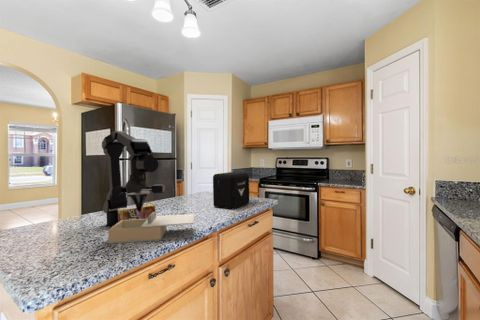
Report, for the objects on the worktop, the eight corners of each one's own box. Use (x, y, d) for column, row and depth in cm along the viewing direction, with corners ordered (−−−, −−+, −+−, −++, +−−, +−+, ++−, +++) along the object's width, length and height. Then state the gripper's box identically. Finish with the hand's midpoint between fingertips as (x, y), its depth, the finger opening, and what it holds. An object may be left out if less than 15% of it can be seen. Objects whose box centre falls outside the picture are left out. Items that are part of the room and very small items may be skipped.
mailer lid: (141, 227, 85) (141, 219, 85) (150, 217, 98) (149, 210, 98) (193, 224, 88) (192, 216, 88) (194, 215, 101) (194, 208, 101)
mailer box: (108, 243, 84) (108, 229, 84) (121, 232, 97) (121, 220, 96) (160, 240, 86) (160, 226, 86) (166, 229, 99) (166, 217, 99)
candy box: (156, 224, 106) (118, 231, 98) (154, 222, 110) (118, 228, 102) (155, 205, 106) (118, 210, 98) (153, 203, 110) (117, 208, 102)
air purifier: (233, 210, 132) (232, 175, 131) (213, 207, 139) (212, 174, 139) (251, 203, 148) (250, 172, 148) (232, 201, 156) (231, 172, 156)
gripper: (104, 173, 82) (105, 218, 82) (159, 172, 84) (160, 215, 85) (116, 171, 93) (117, 210, 93) (164, 170, 95) (165, 208, 96)
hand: (139, 211), depth 91 cm, fingers closed
